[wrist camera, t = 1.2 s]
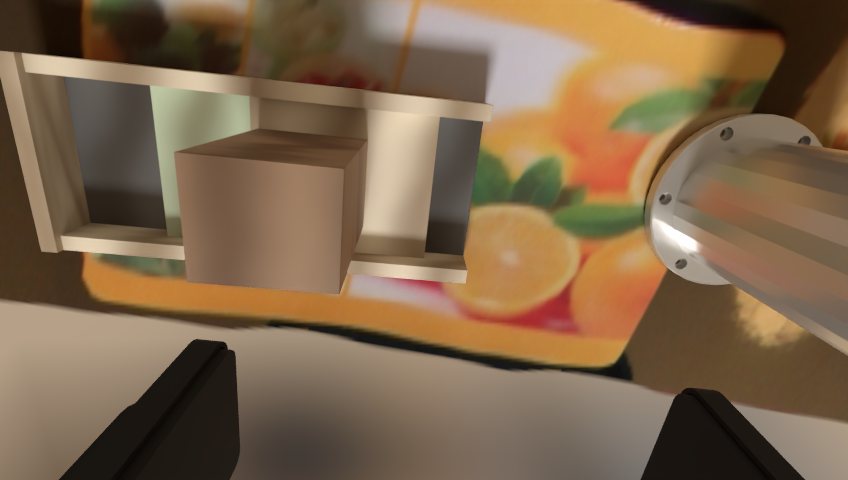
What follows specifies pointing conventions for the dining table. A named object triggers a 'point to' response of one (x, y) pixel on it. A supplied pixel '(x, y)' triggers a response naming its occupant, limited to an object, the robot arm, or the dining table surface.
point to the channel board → (219, 118)
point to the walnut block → (272, 209)
